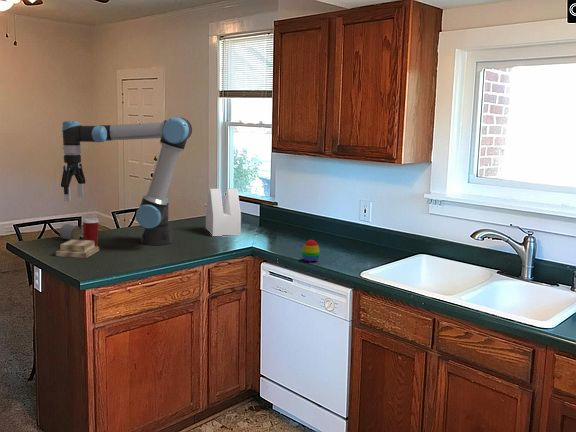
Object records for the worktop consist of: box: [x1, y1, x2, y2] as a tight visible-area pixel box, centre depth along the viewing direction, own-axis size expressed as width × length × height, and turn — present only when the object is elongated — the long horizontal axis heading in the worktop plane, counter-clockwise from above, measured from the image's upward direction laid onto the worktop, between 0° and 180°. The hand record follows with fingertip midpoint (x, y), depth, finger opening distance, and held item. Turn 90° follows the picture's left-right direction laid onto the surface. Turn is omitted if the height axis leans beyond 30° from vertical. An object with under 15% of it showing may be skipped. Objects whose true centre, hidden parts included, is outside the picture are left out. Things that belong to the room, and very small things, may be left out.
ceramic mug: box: [59, 223, 84, 241], centre depth 283 cm, size 11×8×8 cm
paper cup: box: [81, 217, 100, 246], centre depth 266 cm, size 8×8×14 cm
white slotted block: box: [205, 187, 242, 237], centre depth 312 cm, size 19×15×25 cm
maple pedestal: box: [55, 239, 100, 259], centre depth 255 cm, size 14×14×5 cm
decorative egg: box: [301, 239, 321, 262], centre depth 259 cm, size 8×8×10 cm
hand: (74, 199), depth 267 cm, fingers open, 13 cm apart
